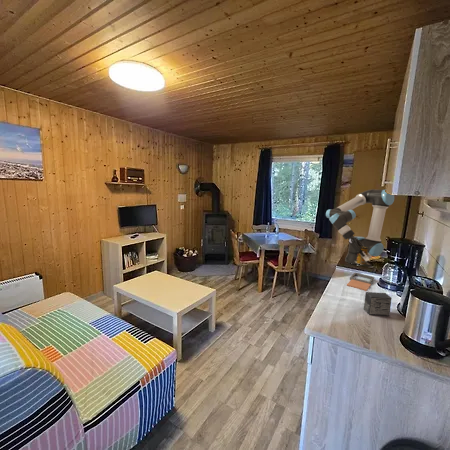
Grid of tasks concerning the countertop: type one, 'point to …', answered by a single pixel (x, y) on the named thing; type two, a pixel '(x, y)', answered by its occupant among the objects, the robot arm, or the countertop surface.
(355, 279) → the holder
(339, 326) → the countertop surface
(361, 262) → the condiment
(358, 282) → the tile
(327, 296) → the countertop surface
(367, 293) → the small box
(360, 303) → the countertop surface
